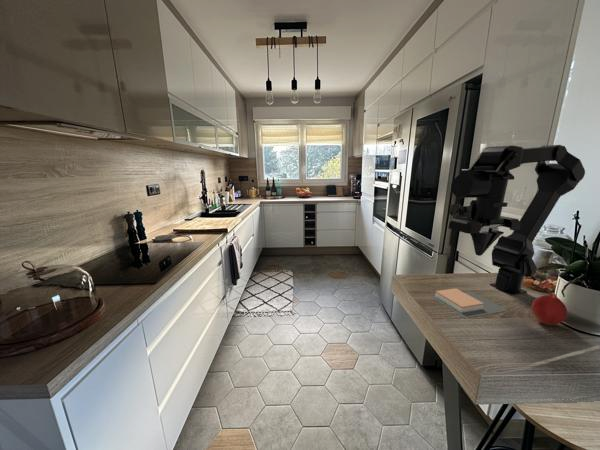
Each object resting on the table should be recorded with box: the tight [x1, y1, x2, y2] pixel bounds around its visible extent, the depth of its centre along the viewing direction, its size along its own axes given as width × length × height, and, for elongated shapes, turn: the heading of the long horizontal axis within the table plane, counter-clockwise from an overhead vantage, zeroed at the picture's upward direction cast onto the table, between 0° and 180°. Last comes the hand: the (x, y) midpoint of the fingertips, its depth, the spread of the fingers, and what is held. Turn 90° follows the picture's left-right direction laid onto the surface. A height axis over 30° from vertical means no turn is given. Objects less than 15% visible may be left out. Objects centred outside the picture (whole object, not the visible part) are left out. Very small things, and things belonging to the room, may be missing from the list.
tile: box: [434, 288, 484, 313], centre depth 65 cm, size 2×8×7 cm
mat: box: [431, 291, 509, 319], centre depth 65 cm, size 14×10×1 cm
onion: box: [530, 292, 568, 326], centre depth 57 cm, size 6×6×8 cm
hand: (478, 255), depth 68 cm, fingers closed
